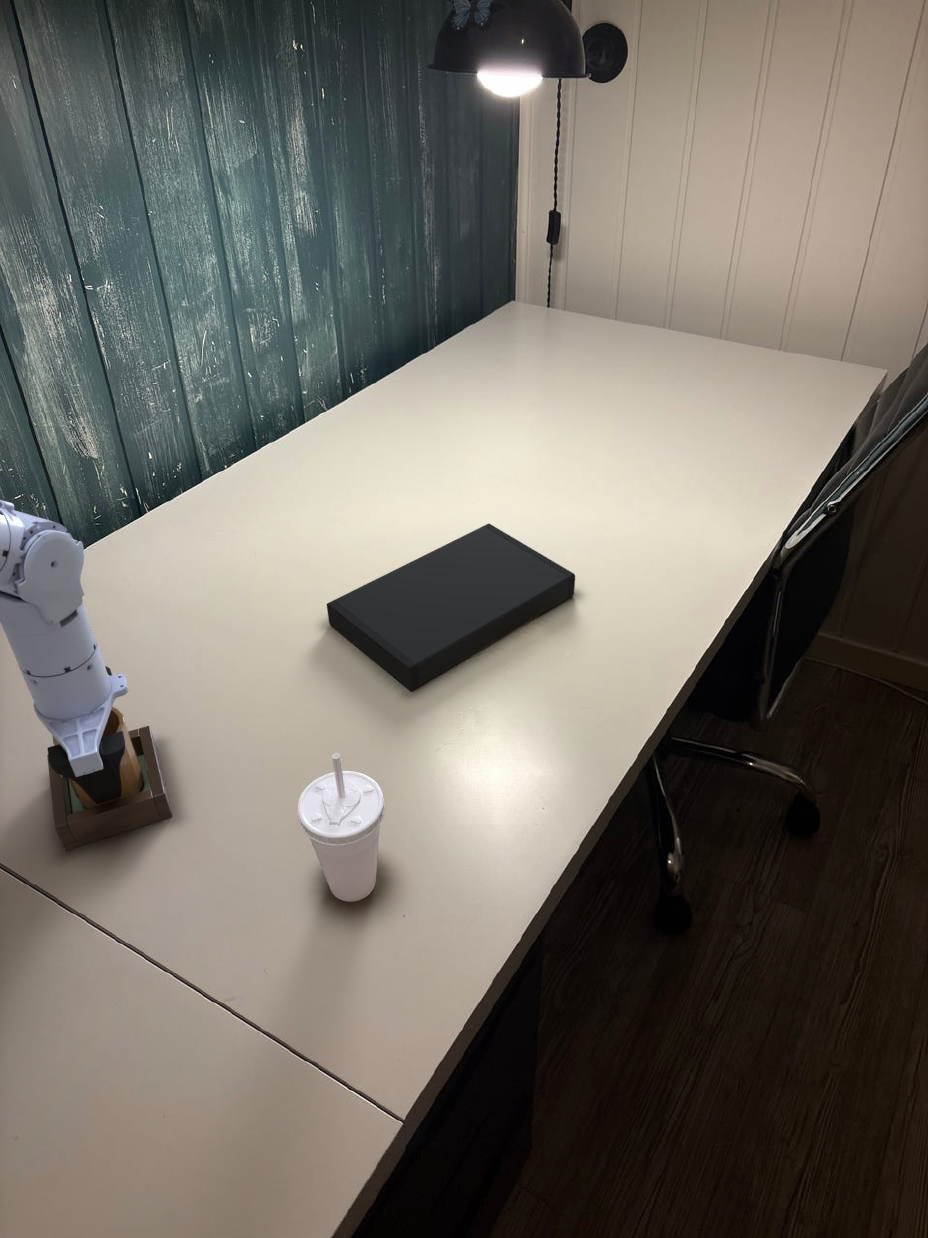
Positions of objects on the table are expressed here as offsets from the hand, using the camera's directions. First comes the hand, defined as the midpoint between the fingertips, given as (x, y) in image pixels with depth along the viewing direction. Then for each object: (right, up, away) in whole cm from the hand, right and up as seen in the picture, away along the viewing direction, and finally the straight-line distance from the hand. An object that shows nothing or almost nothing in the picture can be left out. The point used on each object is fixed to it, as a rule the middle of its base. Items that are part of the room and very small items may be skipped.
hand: (104, 772), depth 78 cm
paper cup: (0, -1, +1) cm, 2 cm away
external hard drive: (+30, +14, +22) cm, 40 cm away
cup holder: (0, -2, +2) cm, 3 cm away
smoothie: (+22, -8, -5) cm, 24 cm away
